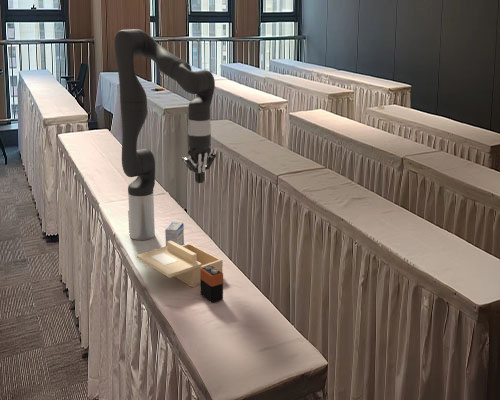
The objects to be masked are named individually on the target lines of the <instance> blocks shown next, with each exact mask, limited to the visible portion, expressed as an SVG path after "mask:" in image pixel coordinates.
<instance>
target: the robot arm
mask: <svg viewBox="0 0 500 400" xmlns="http://www.w3.org/2000/svg"><path fill="white" fill-rule="evenodd" d="M113 43H114V44H113V45H114V54H115V59H116V60H115V61H116V65H117V72H118V83H119V84H118V85H119V99H120V100H119V101H120V102H119V104H120V116H121V134H122V135H121V139H122V140H121V166H122V170H123V173H124V174H125V176H126V177H129V178H134V177H136V178H135V179H134V180H133V181H132V182H130V183H129V185H128V186H127V194H128V196H127V197H128V210H127V214H128V215H127V216H128V234H129V233H130V234H129V237H130V238H131V239H133V240H137V241H145V240H147V241H148V240H151V239H153V238H154V237H155V236H156V234H155V233H156V231H155V230H156V229H155V225H156V223H155V203H154V201H155V200H154V198H155V197H154V194H155V193H154V188H155V184H156V160H155V156H154V154H153V152H152V150H150V149H149V148H141V149H138V148H137V146H138V145H137V144H138V137H139V135H140V133H141V131H142V128H143V126H144V124H145V122H146V120H147V116H148V99H147V93H146V91H145V89H144V87H143V85H142V84H141V82H140V80H139V79H138V77H137V74H136V70H135V62H134V58H139V57H144V58H147V59H149V60H152V61H153V62H154V63H155V64H156V66H157V68H158V69H159V71H160V72H161V73H162V74H164V75H165V76H167V77H168V78H170V79H171V80H174V81H175V82H176V83H177V84H178V85H179V86H180V87H181V89H183V90H184V91H185V92H186V93H189V94H191V95H195V98H194V99H192V100H191V101H189V103H188V110H187V111H188V123H187V146H188V151H187V156H185V157H182V159H181V160H182V162H183V163H184V165H185V166H186V167H187V168H188V170H189V171H191V172H193V173H194V180H195V182H196V183H197V184H204V182H205V172H206V171H208V170H209V169H210V167H211V166H212V165H213V162H214V161H215V159H216V157H217V154H216V153H214V152H212V150H211V144H212V137H211V136H212V135H211V134H212V125H211V104H212V102H213V96H214V92H215V88H216V82H215V77H214V75H213V73H212V72H211V71H209V70H206V69H202V70H196V71H193V70H192V66H191V65H190V63H189V62H187V61H185V60H184V59H182V58H180V57H178V56H176V55H175V54H173V53H172V52H170V51H168V50H167V49H166V48H165V47H163V45H161V44H160V43H159V42H157V41H156V40H155V39H154V38H152V37H151V35H149V34H148V33H147V32H145V31H144V30H143V29H140V28H139V29H138V28H134V29H133V28H132V29H121V30H118V31H117V32H116V34H115V35H114V42H113Z"/></svg>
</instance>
